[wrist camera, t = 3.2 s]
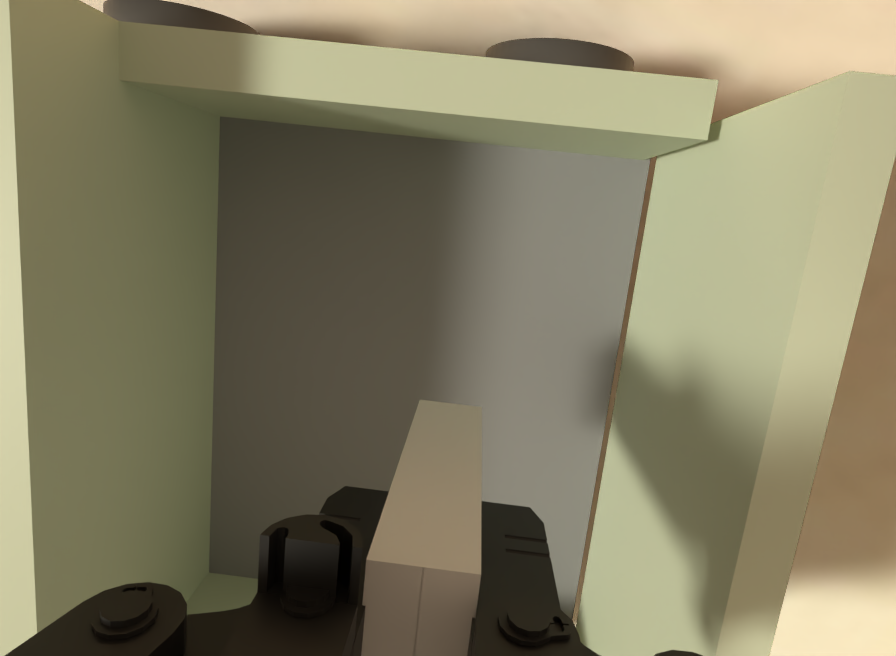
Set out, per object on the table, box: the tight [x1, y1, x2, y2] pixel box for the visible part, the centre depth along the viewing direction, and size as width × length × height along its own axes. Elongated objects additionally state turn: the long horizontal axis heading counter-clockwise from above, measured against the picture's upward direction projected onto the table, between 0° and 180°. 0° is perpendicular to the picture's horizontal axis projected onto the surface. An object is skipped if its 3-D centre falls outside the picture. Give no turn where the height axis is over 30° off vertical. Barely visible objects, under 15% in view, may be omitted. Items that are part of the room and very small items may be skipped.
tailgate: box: [576, 71, 896, 656], centre depth 14 cm, size 17×1×9 cm, turn 174°
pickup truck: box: [0, 0, 719, 656], centre depth 17 cm, size 21×18×11 cm
